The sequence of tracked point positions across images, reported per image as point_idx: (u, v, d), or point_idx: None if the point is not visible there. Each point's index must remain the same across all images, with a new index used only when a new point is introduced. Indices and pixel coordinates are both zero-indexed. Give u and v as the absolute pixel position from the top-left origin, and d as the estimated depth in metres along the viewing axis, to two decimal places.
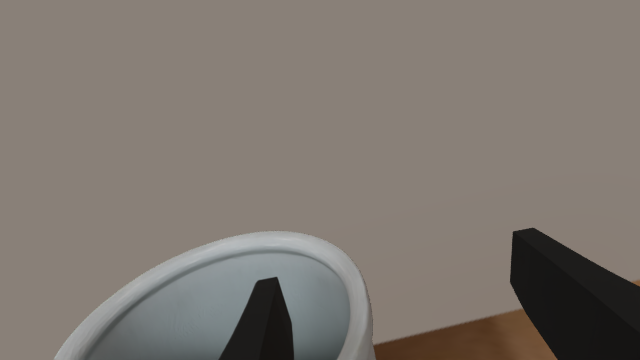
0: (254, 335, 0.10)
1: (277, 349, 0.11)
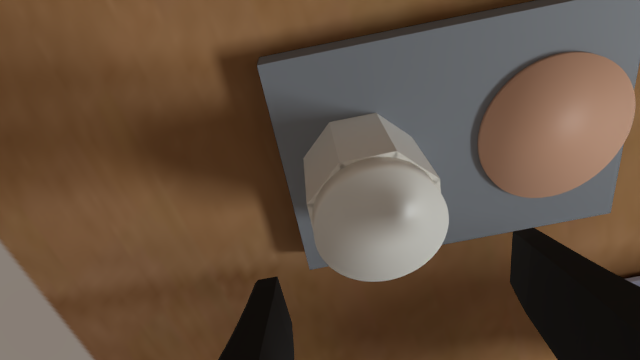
0: (254, 335, 0.10)
1: (277, 349, 0.11)
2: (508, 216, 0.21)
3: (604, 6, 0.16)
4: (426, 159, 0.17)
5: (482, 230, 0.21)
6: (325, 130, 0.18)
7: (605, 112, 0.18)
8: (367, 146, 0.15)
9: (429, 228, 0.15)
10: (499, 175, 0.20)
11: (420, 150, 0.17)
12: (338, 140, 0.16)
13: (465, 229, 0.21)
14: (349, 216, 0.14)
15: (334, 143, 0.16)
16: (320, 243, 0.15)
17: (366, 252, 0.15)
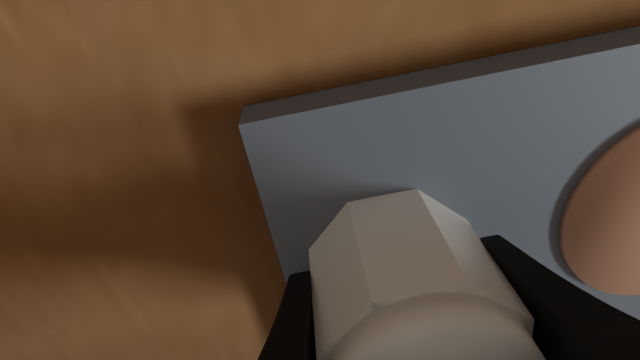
0: (296, 327, 0.10)
1: None
2: None
3: None
4: (500, 271, 0.11)
5: None
6: (342, 215, 0.12)
7: None
8: (415, 265, 0.09)
9: None
10: (587, 268, 0.14)
11: (486, 250, 0.11)
12: (365, 245, 0.10)
13: None
14: None
15: (359, 251, 0.10)
16: None
17: None
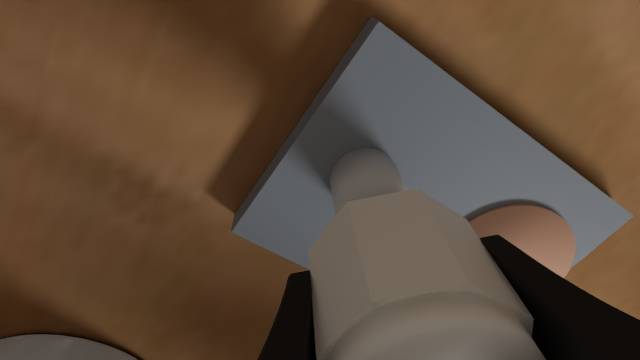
0: (295, 327, 0.10)
1: None
2: None
3: (602, 205, 0.20)
4: (500, 271, 0.11)
5: None
6: (341, 214, 0.12)
7: None
8: (415, 265, 0.09)
9: None
10: None
11: (486, 249, 0.11)
12: (365, 244, 0.10)
13: None
14: None
15: (359, 250, 0.10)
16: None
17: None
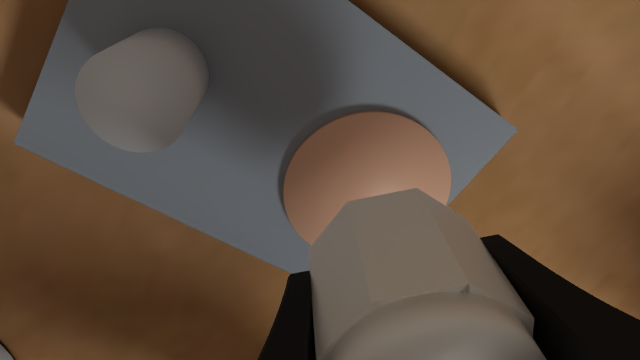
0: (295, 327, 0.10)
1: None
2: (272, 244, 0.18)
3: (477, 114, 0.16)
4: (501, 270, 0.11)
5: (239, 240, 0.18)
6: (341, 214, 0.12)
7: None
8: (415, 265, 0.09)
9: None
10: (293, 195, 0.17)
11: (486, 249, 0.11)
12: (364, 244, 0.10)
13: (224, 227, 0.18)
14: None
15: (359, 250, 0.10)
16: None
17: None
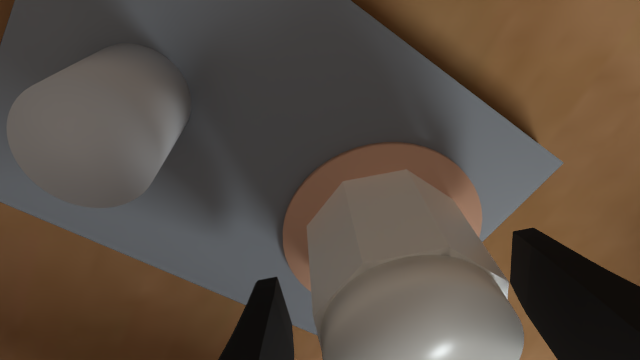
0: (254, 335, 0.10)
1: (277, 349, 0.11)
2: None
3: (515, 145, 0.13)
4: (481, 242, 0.12)
5: (231, 289, 0.15)
6: (337, 193, 0.13)
7: None
8: (402, 233, 0.10)
9: (493, 357, 0.10)
10: (294, 240, 0.14)
11: (469, 224, 0.12)
12: (358, 217, 0.11)
13: (213, 275, 0.15)
14: (378, 344, 0.10)
15: (352, 222, 0.11)
16: None
17: None
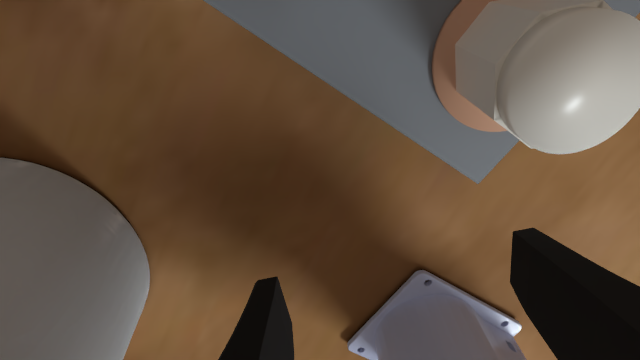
0: (254, 335, 0.10)
1: (277, 349, 0.11)
2: (413, 114, 0.20)
3: None
4: None
5: (383, 109, 0.19)
6: (486, 9, 0.17)
7: None
8: (560, 3, 0.14)
9: (631, 87, 0.14)
10: (443, 58, 0.18)
11: None
12: (518, 5, 0.15)
13: (372, 94, 0.19)
14: (553, 68, 0.14)
15: (515, 7, 0.15)
16: (514, 102, 0.14)
17: (559, 116, 0.14)
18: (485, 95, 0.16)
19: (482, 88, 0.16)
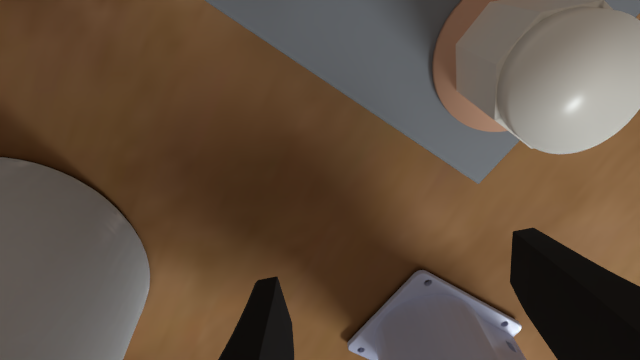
0: (254, 335, 0.10)
1: (277, 349, 0.11)
2: (413, 114, 0.20)
3: None
4: None
5: (384, 109, 0.19)
6: (486, 9, 0.17)
7: None
8: (561, 3, 0.14)
9: (631, 87, 0.14)
10: (444, 58, 0.18)
11: None
12: (518, 5, 0.15)
13: (372, 94, 0.19)
14: (553, 68, 0.14)
15: (516, 7, 0.15)
16: (514, 102, 0.14)
17: (559, 116, 0.14)
18: (486, 95, 0.16)
19: (483, 88, 0.16)
